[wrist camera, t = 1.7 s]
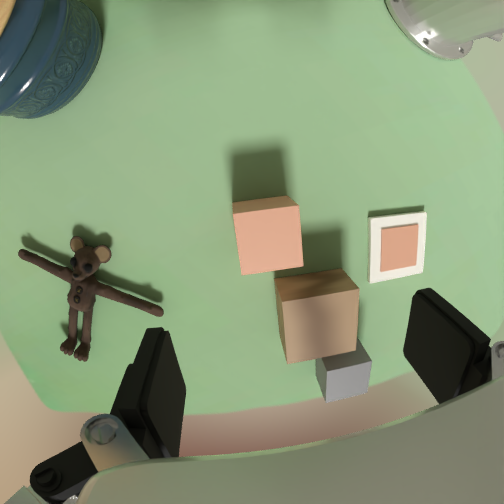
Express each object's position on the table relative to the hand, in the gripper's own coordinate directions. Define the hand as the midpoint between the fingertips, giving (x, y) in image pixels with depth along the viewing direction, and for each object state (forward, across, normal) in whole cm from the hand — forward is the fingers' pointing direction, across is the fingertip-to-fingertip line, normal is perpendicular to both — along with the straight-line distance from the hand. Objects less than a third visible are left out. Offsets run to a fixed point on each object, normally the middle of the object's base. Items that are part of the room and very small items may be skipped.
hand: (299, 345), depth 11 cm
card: (+18, -15, +4) cm, 24 cm away
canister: (+19, +19, -20) cm, 33 cm away
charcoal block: (+19, -8, +17) cm, 27 cm away
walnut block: (+19, -5, +9) cm, 22 cm away
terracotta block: (+19, -1, 0) cm, 19 cm away
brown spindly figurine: (+19, +19, +6) cm, 28 cm away
